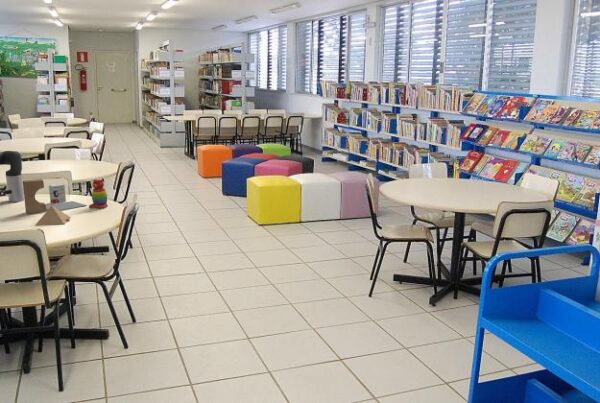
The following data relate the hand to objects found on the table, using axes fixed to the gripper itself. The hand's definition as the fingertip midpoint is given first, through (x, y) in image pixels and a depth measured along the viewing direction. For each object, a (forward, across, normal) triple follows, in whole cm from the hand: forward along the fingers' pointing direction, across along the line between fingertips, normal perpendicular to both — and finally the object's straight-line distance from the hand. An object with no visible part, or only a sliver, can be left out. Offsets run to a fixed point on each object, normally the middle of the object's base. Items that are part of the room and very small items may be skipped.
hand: (8, 190), depth 332 cm
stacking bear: (+48, -17, +16) cm, 53 cm away
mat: (+32, 0, +16) cm, 36 cm away
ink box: (+37, +15, +16) cm, 43 cm away
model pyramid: (+11, -29, +17) cm, 35 cm away
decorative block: (+15, 0, +16) cm, 22 cm away
